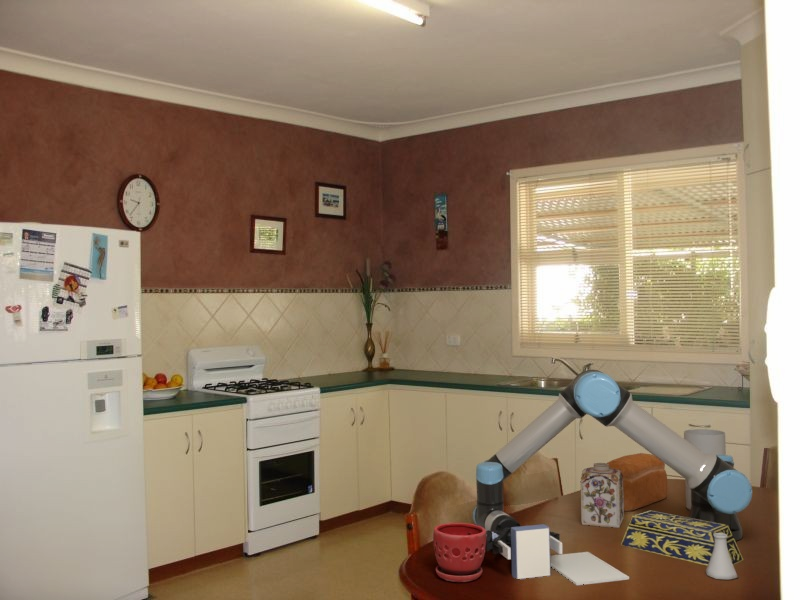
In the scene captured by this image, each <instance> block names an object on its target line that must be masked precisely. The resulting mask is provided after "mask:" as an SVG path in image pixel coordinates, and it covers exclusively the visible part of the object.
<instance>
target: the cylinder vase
mask: <svg viewBox="0 0 800 600" xmlns="http://www.w3.org/2000/svg"><path fill="white" fill-rule="evenodd" d="M683 438H684V439H685V440H687V441H688V442H689V443H691V444H692V445H693V446H695V447H696V448H697V449H699V450H700V451H702V452H703V453H704V454H716V455H727V454H726V453H727V451H726V450H727V448H726V447H727V445H726V432H725V431H722V430H717V429H706V428H705V429H703V428H702V429H700V428H699V429H698V428H697V429H687V430H684V431H683ZM684 481H685V482H684V485H685V506H686V509H688V510H689V511H690V509H691V489H689V488H688V486H687V480H686V479H685V478H684Z"/></svg>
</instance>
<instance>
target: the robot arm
mask: <svg viewBox="0 0 800 600" xmlns="http://www.w3.org/2000/svg"><path fill="white" fill-rule="evenodd" d="M587 415H589V416H590V417H592V418H593V419H594V420H596V421H597V422H599V423H600V424H602V425H603V426H604V427H615V428H616V429H618V430H619V431H620V432H622V433H623V434H624V435H626V436H627V437H628V438H630V439H631V440H632V441H633V442H635V443H636V444H638V445H639V446H640V447H642V448H643V449H645V450H646V451H647V452H648V453H649V454H651V455H654V456H655V457H657V458H658V459H659V460H661V461H662V462H664V463H665V466H667V467H669V468H670V469H672V470H673V471H675V472H676V473H677V474H678V475H680V476H681V477H682V478H684V480H685V479H686V480H687V486H688V488H689V489H691V509H690V510H689V513H688V515H687V517H689V518H695V519H700V520H705V521H710V522H715V523H721V524H726V525H728V526H729V529H730V531H731V533H732V535H733V538H734V540H735V542H736V541H739V540H742V539H743V527H742V525H741V523H740V519H739V517H738V515H737V514H738V513H740V512H742V511H744V510H745V509H746V508H747V507H748V506H749V505H750V503H751V501H752V499H753V487H752V485H751V482H750V480H749V479H748V477H747V475H745V474H744V473H743V472H741V471H738V470H737V469H736V468H735V462H734V458H733V456H732V455H728V454H726V455H716V454H704V453H703V452H702V451H700V450H699V449H697V448H696V447H695V446H693V445H692V444H691V443H689V442H688V441H687V440H685V439H684V437H683V436H682V435H680V434H678V433H677V432H675V431H674V430H673V429H672V428H670V427H669V426H667V425H666V424H665V423H663V422H662V421H660V420H659V419H658V418H656V417H655V416H654V415H652V414H651V413H649V412H648V411H647V410H645V409H644V408H643V407H642V406H640V405H638V404H637V403H636V402H635V401H634V400H633V396H632V393H631V392H630V391H629V390H627V389H626V388H625V387H624V386H622V385H621V384H619V383H618V382H617V381H615V379H613V378H612V377H611V376H609V375H608V374H606V373H604V372H602V371H600V370H597V369H587V370H584V371H581V372H580V373H578V374H577V375H576V376H575V377H574V378H573V379H572V381H571V382H570V383H568V385H567V386H566V387H564V388H563V389H562V391H560V392H559V393H558V399H556V400H555V401H554V402H553V403H552V404H551V405H550V406H548V408H546V409H545V410H544V411H543V412H541V413H540V414H539V415H538V416H537V417H536V418H535V419H534V420H532V421H531V422H530V423H529V424H528V425H526V426H525V427H524V428H523V429H522V430H521V431H520V432H519V433H517V434H516V435H515V436H514V437H513V438H512V439H511V440H509V441H508V442H507V443H506V444H505V445H504V446H502V448H500V449H499V450H498V451H496V453H495V454H493V455H492V456H491V457H490V458H489V459H487V460H485V461H483V462H480V463H478V464H477V465H476V469H475V470H476V472H475V478H476V479H475V480H476V482H475V483H476V485H475V486H476V506H475V507H474V509H473V511H472V520H473V522H474V523H475V524H474V525H478V526H481V527H483V528H484V529H485V530H486V546H485V552H490V550H492V554H493V555H498V554H500V555H502V556H503V557H504V558H506V560H512V554H511V527H520V526H521V524H520V522H519V521H518V520H517V519H515V517H512V516H511V515H509V514H507V512H505V511H504V482H505V480H506V479H507V478H509V477H510V476H511V475H512V474H513V473H514V472H515V471H516V470H518V469H519V468H520V467H521V466H522V465H523V464H524V463H526V462H527V461H528V460H529V459H530V458H532V457H533V456H534V455H535V454H536V453H537V452H538V451H540V450H541V449H543V448H544V447H545V446H546V445H547V444H548V443H549V442H550V441H552V440H553V439H554V438H555V437H557V435H558V434H560V433H561V432H562V431H563V430H564V429H565V428H567V427H568V426H569V425H570V424H571V423H573V422H574V421H575V420H576V419H579V420H580V419H582V418H584V417H585V416H587ZM551 549H552V550H553V551H554V552H555V553H557V554H558V555H562V554H564V553H563V542H562V541H561V539H560V533H559V532H554V531H550V550H551Z"/></svg>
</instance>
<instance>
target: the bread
mask: <svg viewBox="0 0 800 600" xmlns="http://www.w3.org/2000/svg"><path fill="white" fill-rule="evenodd" d="M606 463H607V464H609V468H613V469H617V470H620V471H621V472H622V475H623V496H624V512H628V511H629V512H632V511H635V510H638V509H641V508H643V507H647V506H648V505H651V504H653V503H656V502H660V501H662V500H664V499H667V497H668V475H667V471H666V469H665V467H666V464H665V463H664V462H662V461H661V460H659V459H658V458H657V457H655V456H654V455H653V454H651V453H643V452H640V453H633V454H627V455H623V456H620V457H617V458H615V459H612V460H610V461H608V462H606Z"/></svg>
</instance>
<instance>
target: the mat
mask: <svg viewBox="0 0 800 600" xmlns="http://www.w3.org/2000/svg"><path fill="white" fill-rule="evenodd" d="M551 567H552V568H551ZM550 568H551V569H553V570H554V569H555V570H554V571H556V572H557V571H558V572H559V573H558V572H557V573H558V574H560V575H561V574H562V575H561V576H563V578H565V577H566V578H565V579H567V580H568V579H569V580H568V581H569V582H571V583H572V582H573V585H575V586H584V585H591V584H592V585H593V584H602V583H609V582H619V581H626V580H630V576H628V575H627V574H625V573H624V572H622V571H620V570H619V569H617V568H615V567H614V566H612V565H610V564H609V563H607V562H606V561H604V560H602V559H600V558H599V557H598V556H597V555H596V556H595V555H594V554H593V553H591V552H590V551H583V552H574V553H571V552H570V553H563V554H554V555H553V554H552V555H550ZM583 584H584V585H583Z"/></svg>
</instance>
